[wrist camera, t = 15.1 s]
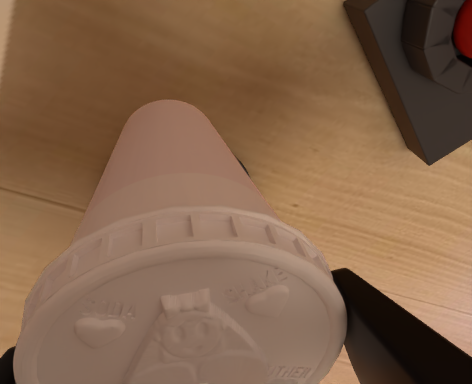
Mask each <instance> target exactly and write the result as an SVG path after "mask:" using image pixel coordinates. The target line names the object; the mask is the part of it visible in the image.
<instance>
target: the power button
mask: <svg viewBox="0 0 472 384" xmlns="http://www.w3.org/2000/svg"><path fill="white" fill-rule="evenodd" d="M453 37H454V42H455V45H456V47H457V49H458V50H459V52H460V53H461V54H463V55H464V56H466V57H469V58H471V59H472V0H465V1H464V3H463V4H462V6H461V8H460V10H459V12H458V14H457V17H456V20H455V23H454V30H453Z"/></svg>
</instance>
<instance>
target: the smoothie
mask: <svg viewBox="0 0 472 384" xmlns="http://www.w3.org/2000/svg"><path fill="white" fill-rule="evenodd" d="M346 332H347V312H346V306H345V303H344V301H343V298H342V296H341V294H340V292H339V290H338V288H337V286H336V285H335V283H334V282H333V276H332V274H331V271H330V269H329V267H328V264H327V262H326V260H325V257H324V255H323V253H322V252H321V251H320V250H319V249H318V248H317V247H316V246H315V245H314V244H313V243H312V242H311V241H310V240H309V239H308V238H307V237H306V236H305V235H304V234H303V233H302V232H301V231H300V230H298V229H296V228H294V227H292V226H290V225H288V224H286V223H284V222H282V221H280V219H279V218H278V216H277V215H276V213H275V212H274V210H273V209H272V208H271V206H270V205H269V204H268V203H267V201H266V200H265V199H264V197H263V196H262V194H261V193H260V192H259V190H258V189H257V187H256V186H255V184H254V183H253V182H252V180H251V179H250V177H249V176H248V175H247V173H246V172H245V170H244V169H243V168H242V166H241V165H240V163H239V162H238V160H237V159H236V158H235V156H234V155H233V153H232V152H231V151H230V149H229V148H228V146H227V145H226V144H225V142H224V141H223V139H222V138H221V137H220V135H219V134H218V132H217V131H216V129H215V128H214V127H213V125H212V124H211V122H210V121H209V120H208V118H207V117H206V116H205V115H204V114H203V113H202V112H201V111H200V110H199V109H197V108H196V107H194V106H192V105H190V104H188V103H186V102H183V101H178V100H158V101H154V102H151V103H148V104H146V105H144V106H142V107H141V108H139V109H138V110H136V111H135V112H134V113H133V114H132V115H131V116H130V118H129V119H128V120H127V122H126V124H125V126H124V128H123V130H122V132H121V135H120V137H119V139H118V141H117V144H116V146H115V148H114V150H113V152H112V155H111V157H110V159H109V161H108V163H107V166H106V168H105V170H104V172H103V175H102V177H101V179H100V181H99V183H98V186H97V188H96V190H95V192H94V195H93V197H92V199H91V201H90V203H89V206H88V208H87V210H86V212H85V214H84V217H83V219H82V221H81V223H80V226H79V227H78V229H77V231H76V233H75V235H74V238H73V240H72V242H71V245H70V247H69V248H67V249H66V250H65V251H64V252H63V253H62V254H60V255H59V256H58V257H57V258H56V259H55V260H54V261H52V262H51V263H50V264H49V265H48V266H47V267H45V268H44V270H43V272H42V273H41V275H40V277H39V278H38V280H37V282H36V283H35V285H34V287H33V288H32V290H31V292H30V293H29V295H28V297H27V298H26V300H25V306H24V313H23V320H22V326H21V332H20V335H19V338H18V341H17V344H16V348H15V352H14V358H13V371H14V378H15V381H16V384H318V383H319V382H320V381H321V380H322V379H323V378H324V377H325V376H326V375H327V374H328V372H329V371H330V369H331V367H332V366H333V364H334V363H335V361H336V359H337V358H338V356H339V354H340V352H341V349H342V347H343V344H344V341H345V337H346Z"/></svg>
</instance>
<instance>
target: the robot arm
mask: <svg viewBox="0 0 472 384" xmlns="http://www.w3.org/2000/svg"><path fill="white" fill-rule="evenodd" d="M331 274H332V276H333V282H334V283H335V285H336V286H337V288H338V290H339V292H340V294H341V296H342V298H343V301H344V303H345V306H346V312H347V332H346V337H345V341H344V345H345V348H346V351H347V353H348V356H349V359H350V361H351V364H352V366H353V369H354V371H355V373H356V375H357V377H358V380H359V382H360V384H472V357H471V356H469V355H468V354H466V353H465V352H464V351H462V350H461V349H459V348H458V347H457V346H455V345H454V344H453V343H451V342H450V341H448V340H447V339H446V338H444V337H443V336H441V335H440V334H439V333H437V332H436V331H434V330H433V329H432V328H430V327H429V326H427V325H426V324H425V323H423V322H422V321H420V320H419V319H418V318H416V317H415V316H413V315H412V314H411V313H409V312H408V311H407V310H405V309H404V308H402V307H401V306H400V305H398V304H397V303H395V302H394V301H393V300H391V299H390V298H388V297H387V296H386V295H384V294H383V293H381V292H380V291H379V290H377V289H376V288H374V287H373V286H372V285H370V284H369V283H367V282H366V281H365V280H363V279H362V278H360V277H359V276H358V275H356V274H355V273H354V272H352V271H351V270H349V269H347V268H341V269H337V270H333V271H331ZM15 348H16V346H14V347H12V348H10V349H8V350H7V351H6V352H5V353H4V355H3V356H2V357H1V358H0V384H16V381H15V378H14V371H13V358H14V352H15Z"/></svg>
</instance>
